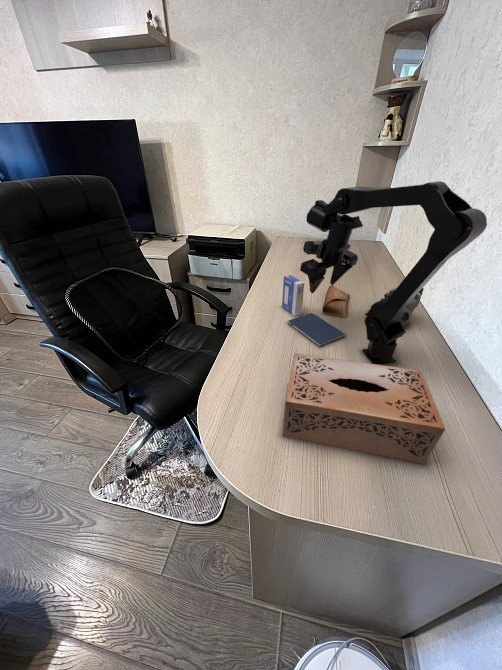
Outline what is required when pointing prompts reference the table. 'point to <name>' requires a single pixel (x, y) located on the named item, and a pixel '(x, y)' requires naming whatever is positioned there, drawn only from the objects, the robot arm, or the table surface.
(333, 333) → the notebook
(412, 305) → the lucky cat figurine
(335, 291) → the sunglasses case
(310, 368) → the tissue box cover
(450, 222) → the robot arm
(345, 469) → the table surface
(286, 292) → the walkman
